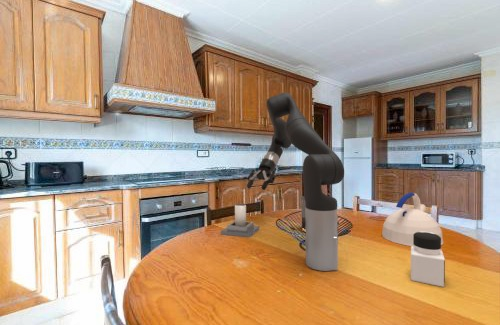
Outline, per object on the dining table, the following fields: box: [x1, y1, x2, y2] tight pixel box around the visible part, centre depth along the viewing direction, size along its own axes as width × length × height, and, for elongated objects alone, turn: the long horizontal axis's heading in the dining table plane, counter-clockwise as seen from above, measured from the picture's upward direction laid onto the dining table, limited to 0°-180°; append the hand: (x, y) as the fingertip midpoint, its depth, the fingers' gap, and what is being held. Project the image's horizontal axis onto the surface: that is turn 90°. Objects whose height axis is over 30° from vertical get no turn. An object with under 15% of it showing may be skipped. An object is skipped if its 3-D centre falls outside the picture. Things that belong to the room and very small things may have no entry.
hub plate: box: [220, 220, 260, 238], centre depth 113 cm, size 13×12×4 cm
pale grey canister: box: [234, 203, 247, 227], centre depth 113 cm, size 5×5×10 cm
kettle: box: [381, 192, 444, 247], centre depth 101 cm, size 20×21×18 cm
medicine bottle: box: [410, 232, 446, 288], centre depth 68 cm, size 7×7×12 cm
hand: (255, 188), depth 121 cm, fingers open, 8 cm apart
